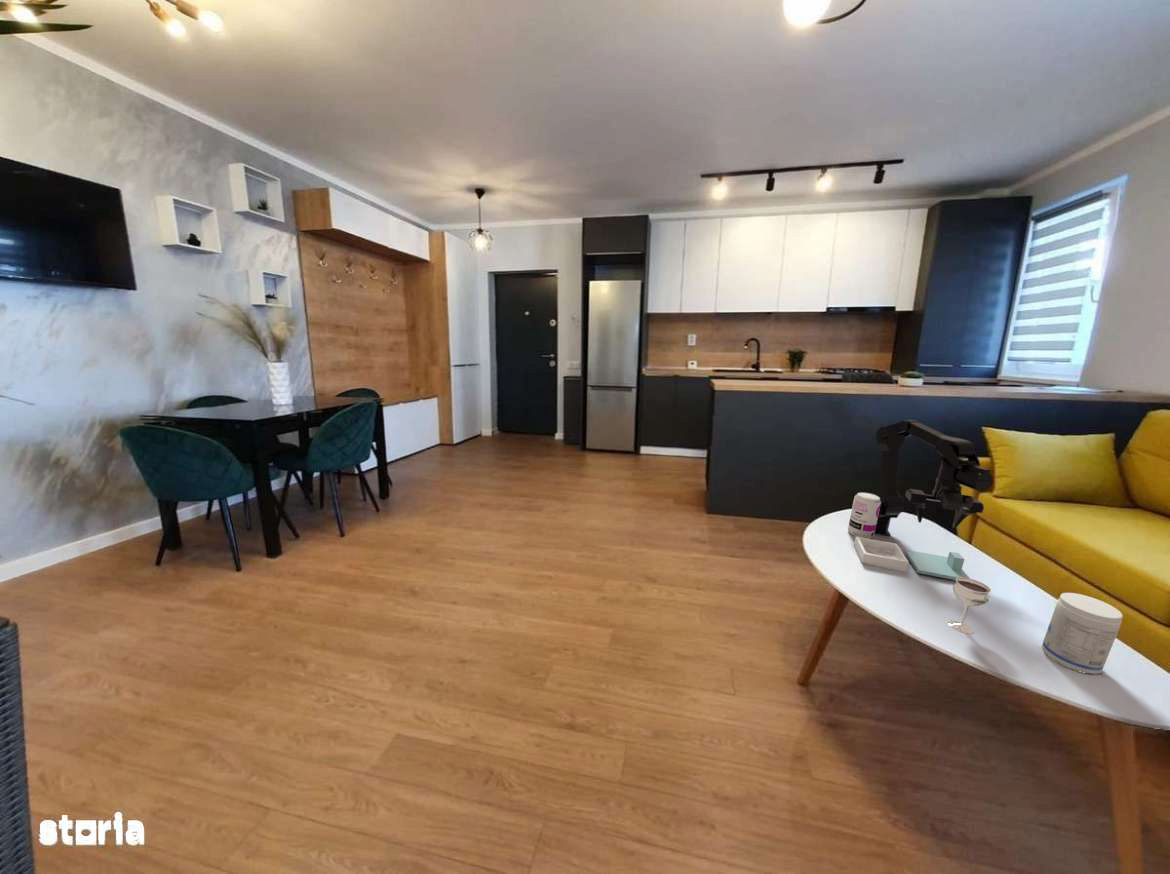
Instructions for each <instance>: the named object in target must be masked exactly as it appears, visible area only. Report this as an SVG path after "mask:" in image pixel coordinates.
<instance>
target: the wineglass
mask: <svg viewBox="0 0 1170 874" xmlns="http://www.w3.org/2000/svg"><path fill="white" fill-rule="evenodd" d="M969 578H970V577H969ZM969 578H963V577H959V578H956V580H955V583H954V585H953V587H952V591H953V594H954V596H955V597H956V599H958V601H960V602H962V603H963V604H964V606H963V607H964V608H963V612H962V617H961V621H958V620H949V621H948V625H949V626H950V627H951V628H952V629H954V630H956V631H958V632H960V631H961V632H960V633H964V634H971V635H972V634H974V632H975V631H974V629H973V628H972V627H971V626H969V625H968V624H966V623H965V619H966V616H967V615H968V611H969V608H970V607H972V606H973V607H979V606H983V605H986V603H988V602H989V601H990V600H989V599H990V594H989V593H991V591H992V589H991V588H990V587H989V586H988V585H986V584H985V583H983V582H981V581H978V580H976V579H973V578H970V579H969Z"/></svg>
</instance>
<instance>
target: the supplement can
mask: <svg viewBox="0 0 1170 874" xmlns="http://www.w3.org/2000/svg"><path fill="white" fill-rule="evenodd" d="M853 497H854V499H853V502H852V507H851V512H850V516H849V521H848V527H847V531H848V533H849V534H851V535H852V536H854V537H855V538H856V537H862V538H868V539H872V538H873V537H875V534H876V533H875V528H876V524H877V519H878V515H879V510H880V506H881V501H880V498H879V497H878V496H877V494H874V493H870V492H864V491H863V492H857V494H855V496H853Z"/></svg>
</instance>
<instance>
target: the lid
mask: <svg viewBox="0 0 1170 874" xmlns="http://www.w3.org/2000/svg"><path fill="white" fill-rule="evenodd" d="M904 555H905V556H906V558H907V559H908V561H910V562H911V564H912V566H913V568H914V569H915V571H916V572H917V573H918V574H922V575H928V576H931V577H938V578H943V579H949V580H953V581H956V578H959V577H963V578H969V579H971V578H970V576H969V575H968V574H967V573H966V572H965V570H964V569H963V566H964V563H965V558H964V557H963V556H962V555H961V554H960V553H959V552H954V551H949V553H948V556H945V555H938V554H933V553H927V552H921V551H916V550H911V549H904Z"/></svg>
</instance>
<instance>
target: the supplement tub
mask: <svg viewBox="0 0 1170 874" xmlns="http://www.w3.org/2000/svg"><path fill="white" fill-rule="evenodd" d="M1055 604H1056V605H1055V606H1054V610H1053V612H1052V616H1051V618H1050V621H1049V624H1048V626H1047V627H1048V628H1047V629H1046V632H1045V635H1044V638H1043V641H1042V644H1041V648H1042V651H1043V652H1044V653H1045V655H1046V654H1047V655H1048V656H1047V655H1046V656H1047V657H1049V658H1050V659H1051V660H1052V659H1053V661H1054V660H1055V661H1054V662H1056V663H1057V662H1058V663H1057V664H1059V663H1060V664H1059V665H1061V664H1062V665H1061V666H1063V665H1064V667H1065V666H1066V667H1065V668H1067V667H1069V668H1068V669H1070V668H1071V669H1070V670H1072V669H1074V670H1073V671H1075V670H1077V671H1076V672H1078V671H1081V672H1080V673H1082V672H1085V673H1084V674H1086V673H1092V674H1091V675H1097V674H1096V673H1098V674H1101V672H1103V669H1104V667H1105V665H1106V662H1107V659H1108V657H1109V655H1110V652H1111V650H1112V647H1113V645H1114V642H1115V640H1116V637H1117V635H1118V632H1119V630H1120V628H1121V625H1122V620H1123V618H1124V617H1123V613H1122V612H1121V611H1120V610H1119V609H1118V608H1116V607H1115V606H1113V605H1111V604H1109V603H1107V602H1104V601H1103V600H1100V599H1097V598H1094V597H1092V596H1088V595H1086V594H1085V595H1084V594H1081V593H1076V592H1063V593H1061V594H1060V596H1059V598H1058V599H1057V601H1056V603H1055Z"/></svg>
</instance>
